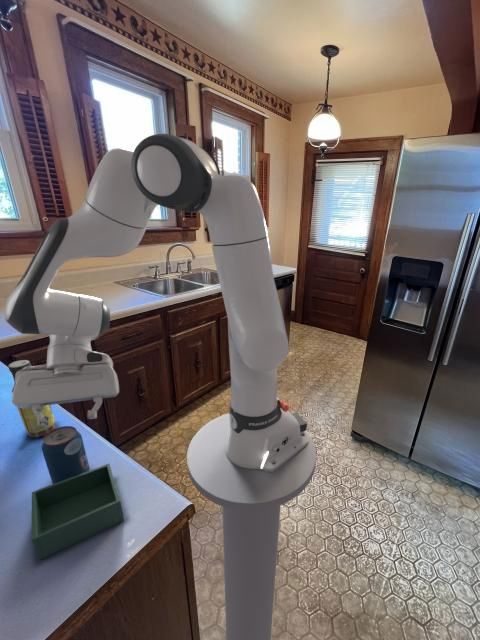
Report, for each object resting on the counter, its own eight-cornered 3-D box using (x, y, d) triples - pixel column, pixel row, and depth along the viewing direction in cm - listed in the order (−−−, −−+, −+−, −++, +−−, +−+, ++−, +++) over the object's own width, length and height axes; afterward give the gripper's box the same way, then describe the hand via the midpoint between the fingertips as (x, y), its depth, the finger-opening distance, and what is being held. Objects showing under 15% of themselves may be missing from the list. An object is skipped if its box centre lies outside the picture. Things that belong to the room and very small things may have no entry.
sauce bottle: (62, 425, 84) (44, 360, 76) (40, 441, 78) (18, 371, 70) (42, 421, 85) (22, 355, 77) (20, 435, 79) (-4, 367, 71)
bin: (113, 480, 68) (109, 463, 66) (124, 520, 60) (120, 501, 58) (38, 510, 61) (31, 492, 59) (39, 560, 53) (31, 540, 51)
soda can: (96, 477, 69) (85, 434, 64) (60, 497, 64) (45, 452, 59) (83, 461, 73) (72, 419, 68) (48, 479, 68) (34, 435, 63)
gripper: (9, 363, 67) (2, 428, 62) (114, 353, 73) (115, 412, 69) (22, 371, 72) (17, 431, 68) (120, 362, 79) (121, 416, 74)
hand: (67, 421), depth 68 cm, fingers open, 8 cm apart
